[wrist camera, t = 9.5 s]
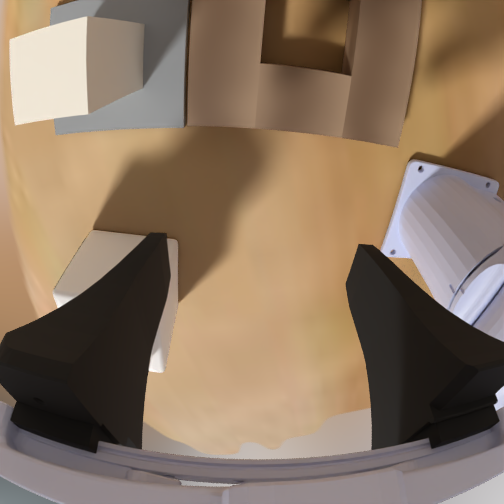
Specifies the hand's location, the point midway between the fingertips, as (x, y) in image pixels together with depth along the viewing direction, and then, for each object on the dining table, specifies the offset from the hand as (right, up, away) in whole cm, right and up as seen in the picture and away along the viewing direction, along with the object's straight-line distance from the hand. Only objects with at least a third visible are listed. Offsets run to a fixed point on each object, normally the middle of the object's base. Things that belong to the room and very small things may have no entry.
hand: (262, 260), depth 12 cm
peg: (-8, +11, +3) cm, 14 cm away
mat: (-9, +12, +3) cm, 15 cm away
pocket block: (+3, +13, +2) cm, 13 cm away
